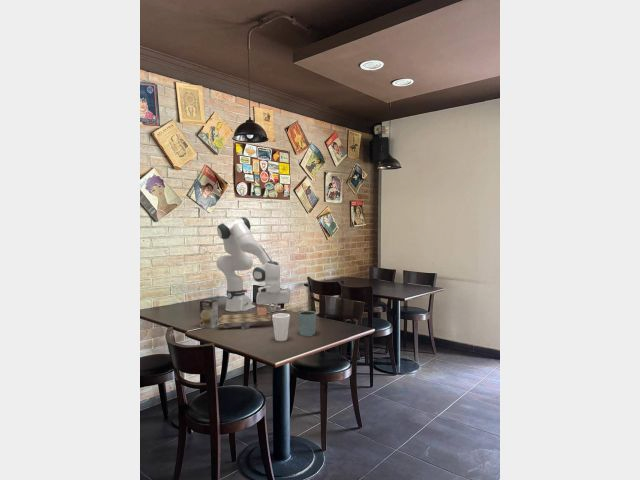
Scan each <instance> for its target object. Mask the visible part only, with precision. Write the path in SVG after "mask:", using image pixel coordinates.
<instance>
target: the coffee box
mask: <svg viewBox="0 0 640 480" xmlns="http://www.w3.org/2000/svg"><path fill="white" fill-rule="evenodd" d="M218 301H219V300H218V299H211V298H204V299H202V300H201V299H200V300H199V327H200V328H207V329H214V328H216V327H218V326H219V302H218Z"/></svg>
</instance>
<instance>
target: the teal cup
mask: <svg viewBox="0 0 640 480" xmlns="http://www.w3.org/2000/svg"><path fill="white" fill-rule="evenodd" d="M316 322H317V312H316V311H313V310H302V311H299V312H298V323H299V324H298V325H299V334H300V336H303V337H311V336H315V335H316V325H317V324H316Z"/></svg>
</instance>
